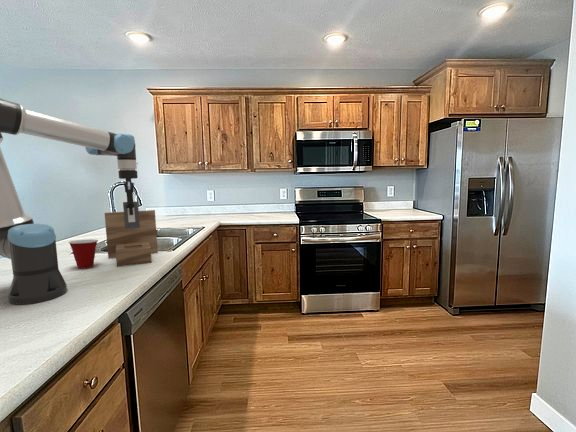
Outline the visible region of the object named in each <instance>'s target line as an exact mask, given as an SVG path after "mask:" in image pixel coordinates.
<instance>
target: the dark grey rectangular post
mask: <svg viewBox="0 0 576 432" xmlns="http://www.w3.org/2000/svg"><path fill="white" fill-rule="evenodd" d="M133 204H134V212H135V222H129V221H128V209H127V208H126V207H127V201H123V202H122V207H123V212H124V221H125V229H132V228H140V223H139V211H140V210H139V202H138V201H137V200H136V201H133Z"/></svg>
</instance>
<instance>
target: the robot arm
mask: <svg viewBox="0 0 576 432" xmlns="http://www.w3.org/2000/svg"><path fill="white" fill-rule="evenodd" d="M2 134H8V135H13V136H17V135H19V134H25V135H29V136H33V137H38V138H43V139H48V140H51V141H52V140H53V141H57V142H61V143H67V144H71V145H76V146H81V147H84V149H85V151H86V152H87V154H89V155H92V156H108V157H109V156H110V157H116V159H117V161H116V162H117V169H118V179H121V180H123V179H124V180H125V182H123V186H124V192H125V193H126V202H127V207H126V208H127V209H128V221H129V222H135V212H134V204H133V202H134V195H133V194H134V191H135V190H134V186H135V183H134V182H132V180H133V179H138V171H137V167H138V165H139V162H137V154H136V153H137V151H136V146H137V145H136V140H135V137H134V135H132V134H129V133H128V134H127V133H114V132H110V131H106V130H103V129H100V128H97V127H91V126H88V125H85V124H81V123H78V122H74V121H70V120H67V119H62V118H59V117H55V116H52V115H49V114H46V113H45V114H44V113H41V112H37V111H33V110H30V109H27V108H24V107H23V106H22V105H21V104H20V103H16V102H13V101H9V100H6V99H3V98H0V144H1V143H2V141H3V140H4V137H3V135H2ZM18 194H19V193H18V192H17V189H16V186H15V185H14V181H13V179H12V175H11V173H10V170H9V168H8V165H7V163H6V159H5V157H4V154H3V152H2V149H1V147H0V256H1V257H3V258H6V259H9V260H10V261H11V268H12V281H11V284H10V287H9V290H8V296H7V298H8V303H9V304H13V305H30V304H36V303H42V302H46V301H49V300H52V299H55V298H58V297H60V296H62V295H65V294H66V293H67V292H68V286H67V283H66V280H65V279H64V277H63V274H62V273H61V272H60V269H59V260H58V252H57V251H58V250H57V242H56V239H57V236H56V233H55V229H54V228H53V227H52V226H51V225H48V224H44V223H43V224H41V223H34V220H33V217H32V216H31V215H27V214H26V213H25V210H24V208H23V205H22V203H21V199H20V198H19V195H18Z"/></svg>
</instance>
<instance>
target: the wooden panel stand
mask: <svg viewBox="0 0 576 432" xmlns="http://www.w3.org/2000/svg"><path fill="white" fill-rule="evenodd" d="M156 220H157V219H156V210H155V209H151V210H150V209H149V210H139V223H140V228H132V229H125V221H124V211H114V212H113V211H111V212H104V223H105V224H104V225H105V234H106V245H107V257H108V259H109V260H111V259H115V260H116V268H118V267H125V266H126V267H127V266H128V267H129V266H133V265H142V264H151V263H152V261H153V260H152V255H153V254H158V237H157V222H156Z"/></svg>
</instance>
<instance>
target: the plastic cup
mask: <svg viewBox="0 0 576 432" xmlns="http://www.w3.org/2000/svg"><path fill="white" fill-rule="evenodd" d="M98 241H99V240H98V239H95V238H91V239H75V240H70V241H68V244H69V245H70V248H71V250H72V254H73V255H72V256H73V257H74V261H75V264H76V266H77V269H82V270H83V269H89V268H92V267H94V264H95V258H96V256H95V255H96V249H97V244H98Z"/></svg>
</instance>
